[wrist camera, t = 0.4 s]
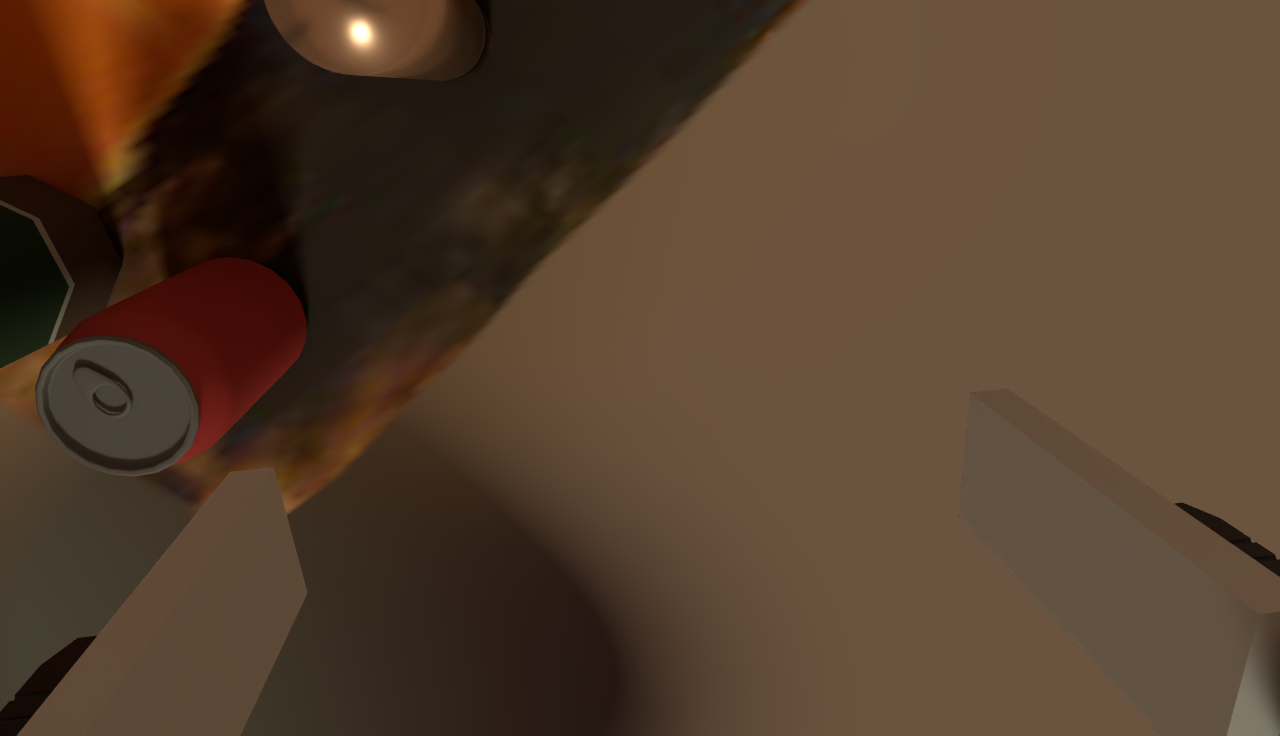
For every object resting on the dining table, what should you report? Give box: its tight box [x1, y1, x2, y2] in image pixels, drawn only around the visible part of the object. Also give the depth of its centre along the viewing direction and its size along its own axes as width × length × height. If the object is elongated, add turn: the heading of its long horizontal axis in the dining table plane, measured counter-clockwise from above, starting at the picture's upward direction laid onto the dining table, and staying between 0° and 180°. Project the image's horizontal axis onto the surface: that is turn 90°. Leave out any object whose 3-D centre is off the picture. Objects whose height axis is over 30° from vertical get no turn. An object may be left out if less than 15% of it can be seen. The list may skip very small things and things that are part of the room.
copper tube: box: [264, 0, 491, 82], centre depth 28 cm, size 4×4×18 cm
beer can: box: [35, 257, 307, 476], centre depth 34 cm, size 7×7×12 cm
